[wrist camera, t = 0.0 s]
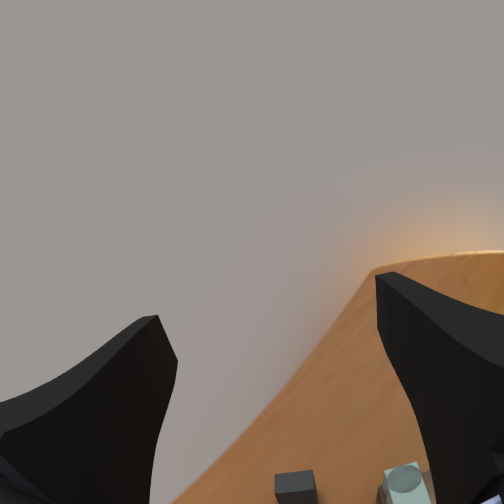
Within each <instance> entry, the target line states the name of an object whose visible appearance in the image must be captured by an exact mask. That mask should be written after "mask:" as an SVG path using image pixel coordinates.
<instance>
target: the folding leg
mask: <svg viewBox="0 0 504 504" xmlns="http://www.w3.org/2000/svg"><path fill="white" fill-rule="evenodd" d="M382 487H383V491H384V498H385V500H386V504H431V502H430V499H429V496H428V493H427V490H426V487H425V484H424V481H423V478H422V474H421V471H420V470H419V467H418V464H417V462H413V463H410V464H407V465H402V466H399V467H396V468H393V469H389V470H386V471H384V478H383V484H382Z"/></svg>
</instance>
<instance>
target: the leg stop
mask: <svg viewBox="0 0 504 504" xmlns="http://www.w3.org/2000/svg"><path fill="white" fill-rule="evenodd" d="M274 494H275V496H276V498H277V501H278V503H279V504H318V501H317V491H316V485H315V480H314V475H313V470H307V471H299V472H291V473H283V474H275V493H274Z"/></svg>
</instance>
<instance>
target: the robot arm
mask: <svg viewBox="0 0 504 504" xmlns="http://www.w3.org/2000/svg"><path fill="white" fill-rule="evenodd" d="M375 280H376V299H377V328H378V331H379V334H380V337H381V340H382V343H383V346H384V348H385V351H386V354H387V356H388V358H389V360H390V362H391V364H392V366H393V368H394V370H395V372H396V374H397V376H398V378H399V380H400V382H401V384H402V386H403V388H404V390H405V392H406V394H407V396H408V398H409V401H410V403H411V405H412V408H413V410H414V413H415V415H416V419H417V422H418V425H419V428H420V432H421V435H422V438H423V442H424V446H425V450H426V454H427V458H428V462H429V466H430V471H431V476H432V481H433V486H434V492H435V499H436V504H504V315H501V314H497V313H493V312H490V311H486V310H483V309H480V308H477V307H474V306H471V305H468V304H465V303H463V302H460V301H458V300H455V299H453V298H450V297H448V296H446V295H443V294H441V293H439V292H437V291H434V290H432V289H430V288H428V287H426V286H424V285H422V284H420V283H418V282H416V281H414V280H412V279H409V278H407V277H405V276H403V275H401V274H399V273H396V272H388V273H384V274H379V275H375ZM177 364H178V360H177V358H176V356H175V353H174V351H173V349H172V347H171V344H170V342H169V340H168V338H167V335H166V333H165V331H164V329H163V326H162V324H161V321H160V319H159V316H158V315H153V316H145V317H142V318H140V319H138V320H136V321H135V322H133V323H132V324H131V325H129V326H128V327H127V328H125V329H124V330H122V331H121V332H120V333H119V334H117V335H116V336H115V337H113V338H112V339H111V340H109V341H108V342H107V343H106V344H105V345H103V346H102V347H101V348H99V349H98V350H97V351H95V352H94V353H92V354H91V355H90V356H88V357H87V358H85V359H84V360H83V361H82V362H80V363H79V364H77V365H76V366H74V367H73V368H71V369H70V370H68V371H67V372H65V373H63V374H62V375H60V376H58V377H57V378H55V379H53V380H51V381H49V382H47V383H45V384H43V385H41V386H39V387H37V388H35V389H33V390H31V391H29V392H27V393H25V394H22V395H20V396H17V397H15V398H12V399H9V400H6V401H3V402H0V504H149V499H150V486H151V476H152V468H153V461H154V455H155V449H156V444H157V440H158V436H159V433H160V430H161V426H162V423H163V420H164V417H165V414H166V411H167V408H168V404H169V401H170V398H171V394H172V391H173V388H174V384H175V378H176V371H177Z"/></svg>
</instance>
